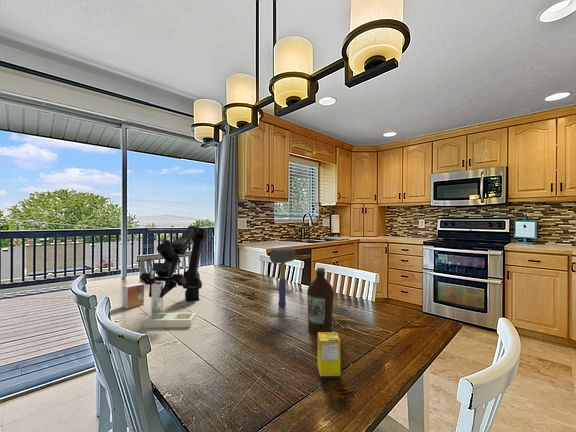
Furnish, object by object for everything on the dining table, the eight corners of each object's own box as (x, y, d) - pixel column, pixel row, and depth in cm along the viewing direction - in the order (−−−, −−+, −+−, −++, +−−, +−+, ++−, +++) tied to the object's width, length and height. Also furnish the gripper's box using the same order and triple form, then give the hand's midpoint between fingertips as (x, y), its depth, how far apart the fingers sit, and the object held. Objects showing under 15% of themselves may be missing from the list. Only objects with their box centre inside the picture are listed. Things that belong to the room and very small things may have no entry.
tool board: (142, 327, 111) (142, 320, 111) (151, 319, 119) (151, 312, 119) (190, 327, 112) (190, 319, 112) (196, 319, 120) (196, 312, 120)
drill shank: (162, 309, 118) (163, 281, 118) (162, 312, 114) (162, 284, 114) (151, 310, 116) (151, 282, 116) (150, 314, 112) (151, 285, 112)
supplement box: (336, 367, 84) (336, 331, 84) (340, 378, 78) (341, 340, 78) (316, 367, 84) (317, 331, 84) (319, 379, 78) (320, 340, 78)
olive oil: (313, 322, 118) (314, 265, 118) (336, 328, 113) (337, 267, 113) (302, 331, 109) (303, 269, 109) (327, 338, 104) (328, 272, 103)
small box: (127, 309, 132) (127, 287, 132) (122, 306, 135) (122, 285, 135) (144, 304, 138) (144, 284, 138) (139, 302, 141) (139, 282, 141)
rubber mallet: (277, 312, 130) (277, 249, 130) (267, 308, 135) (268, 247, 135) (296, 307, 138) (297, 247, 138) (286, 303, 144) (287, 246, 143)
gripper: (142, 254, 120) (124, 286, 109) (183, 255, 118) (169, 288, 107) (153, 268, 128) (137, 299, 117) (191, 270, 126) (179, 301, 115)
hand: (155, 297), depth 114 cm, fingers closed on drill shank, 4 cm apart
